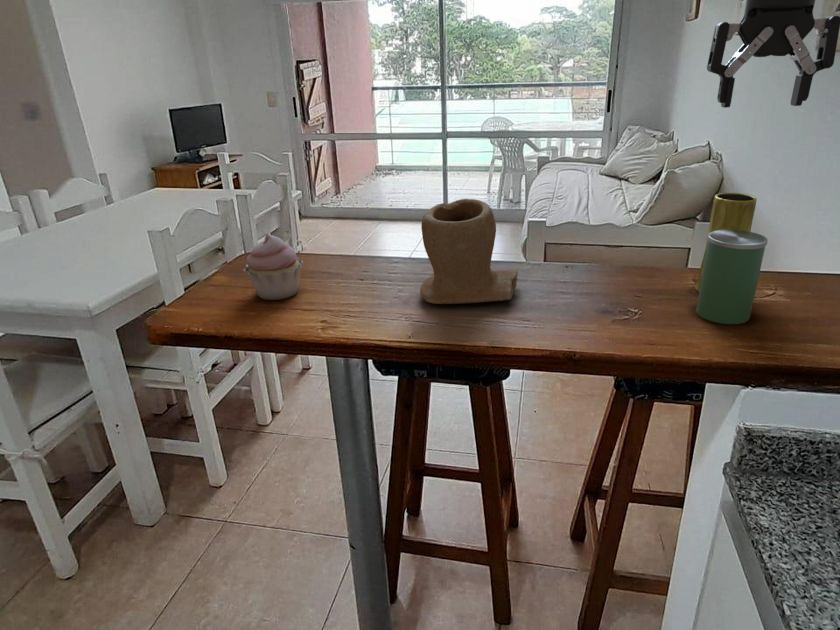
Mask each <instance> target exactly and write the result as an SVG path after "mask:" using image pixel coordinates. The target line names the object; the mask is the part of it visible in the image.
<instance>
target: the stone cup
mask: <svg viewBox="0 0 840 630" xmlns="http://www.w3.org/2000/svg"><path fill="white" fill-rule="evenodd" d="M420 227H421V236H422V244H423V247H424V251H425V252H426V255H427V258H428V260H429V262H430V265H431V267H432V271H433V275H431V276H429V277H427V278H426V279H425V280H424V281H423V282H422V284H420V288H419V293H420V296H421V297H422V298H423V299H424V300H425V302H427V303H429V304H434V305H463V304H477V303H478V304H479V303H491V302H502V301H503V302H505V301H510V300H511V299H513V297H514V296H513V295H514V292H515V290H516V288H517V282H518V274H519V272H518V269H509V270H508V269H507V270H504V269H503V270H502V269H501V270H492V268H491V263H492V257H493V252H494V247H495V242H496V237H497V222H496V219H495V214H494V212H493V209H492V208H491V206H490V205H489V204H488V203H486V202H485V201H482V200H479V199H475V198H460V199H456V200H455V201H452V202H449V203H447V202H446V203H445V202H443V203H437V204H436V205H434V206H432V207H431V208H429V209H428V210H427V211H426V212H425V213H424V214H423V216H422V219H421V226H420Z"/></svg>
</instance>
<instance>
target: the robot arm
mask: <svg viewBox="0 0 840 630" xmlns="http://www.w3.org/2000/svg"><path fill="white" fill-rule="evenodd" d="M815 4H816V0H746V2H745V8H744V14H743V16H742V19H741V21H740V22H739V23H729V22H727V21H723V22H718V23H717V24H716V25H715V26H714V31H713V36H712V41H711V46H710V50H709V55H708V59H707V65H706V70H707V72H709V73H712V74H715V75H717V76H719V85H718V91H717V97H716V98H717V103H720V106H721V108H723V109H725V108H730V107H731V105H732V99H733V92H734V88H735V81H736V78H735V77H734V75H735V74H736V73H738V71H739V70H740V69H741V68H742V67H743V65H744V64H745V63H747V62H748V61H749V60H750V59H751V58H752V57H754V58H766V57H770V56H773V57H786V56H788V57H789V59H790V60H791V61H792V62H793V63H794V65H795V66H796V68H797V70H798V74H795V77H794V83H793V88H792V93H791V96H790V97H791V98H790V106H793V107H800V106H802V104H803V102H806V101H807V100H808V98H809V96H810V92H811V87H812V82H813V78H814V75H815V74H816V73H818V72H819V71H823V70H825V69H830V68H832V67H833V65H834V63H835V57H836V52H837V45H838V40H839V35H840V15H830V16H829V15H828V16H826V17H823V18H815V17H814V8H815ZM813 29H814V30H815V35H816V36H817V37H819V39H818V46H817V52H816V58H815V60H813V58H812V57H811V55H810V50H809V49H808V48H807V45H806V44H805V42H804V39H805V38H806V37H807V36H808V35H809V33H811V32H812V30H813ZM736 33H737V34H738V36H739V38H740V40H741V42H742V43H743V44H741V46H740V47H739V48H738V49H737V50H736V51H735V53H734V54H733V55H732V56H731V58H730V59H729V60H728V61H727V63H726V64H722V63H723V58H724V54H725V49H726V44H727V42H730V41H731V40H732V39H733V37H734V35H735V34H736Z"/></svg>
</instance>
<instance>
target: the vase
mask: <svg viewBox="0 0 840 630" xmlns="http://www.w3.org/2000/svg"><path fill="white" fill-rule="evenodd" d="M757 200H758V199H757V196H755V195H752V194H748V193H741V192H719V193H716V194H715V195H714V196H713V202H712V208H711V212H710V219H709V224H708V231H707V236H706V242H705V243H706V244H705V250H704V252H703V256H702V259H701V260H702V261H701V264H700V268H699V272H698V277H697V280H696V284H695V287H694V288H695V290H696V292H697V293H699V291H700V285H701V280H702V274H703V268H704V262H705V257H706V251H707V245H708V235H709V233H711V232H713V231H718V230H742V231H749V232H752V231H751V230H752V226H753V220H754V215H755V210H756V206H757Z"/></svg>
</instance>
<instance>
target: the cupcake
mask: <svg viewBox="0 0 840 630" xmlns="http://www.w3.org/2000/svg"><path fill="white" fill-rule="evenodd" d="M303 263H304V260H303V259H299V257H297V253H296V251H295V250H294V249H293V246H290V245H288V244H286V243H285V242H284V240H283V239H282V238H280V237H278V236H275V235H272V234H269V233H266V234H265V236H264V240H262V241H260V242H259V243H257V244H255V246H254V247H253V248H252V249H251V253H250V254H248V255H247V257H246V264H245V268H244V269H242V271H243V272H244V273H245V275H246V276H247V277H248V278H249V279H250V281H251V283H252V285H253V287H254V289H255V291H256V294H257V296H258V298H260V299H262V300H266V301H277V300H278V301H279V300H280V301H281V300H285V299H288V298H290V297H293V296H295V295H296V294H297V293H298V291H299V288H300V276H301V269H302V266H303Z"/></svg>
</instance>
